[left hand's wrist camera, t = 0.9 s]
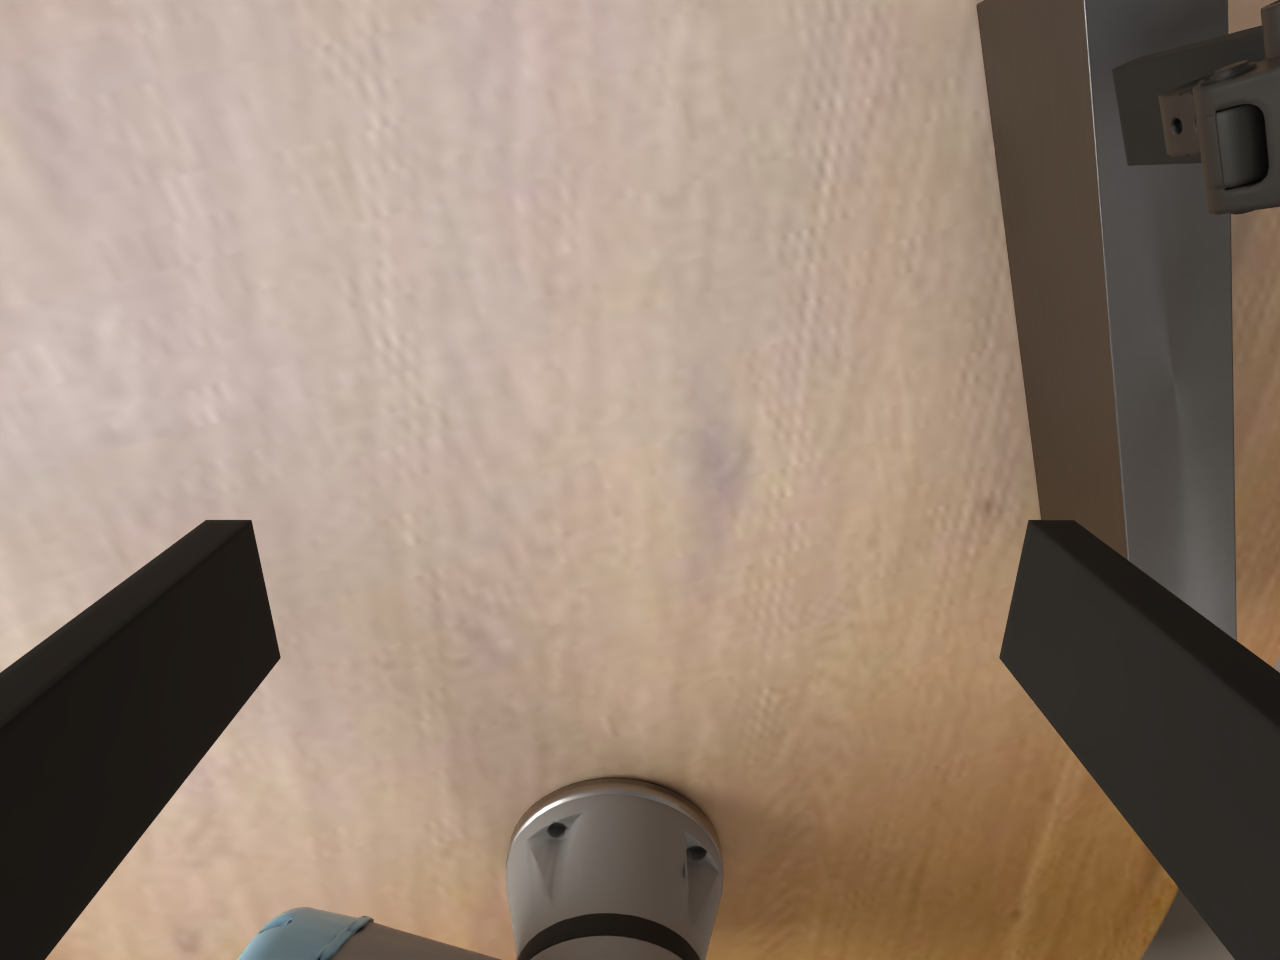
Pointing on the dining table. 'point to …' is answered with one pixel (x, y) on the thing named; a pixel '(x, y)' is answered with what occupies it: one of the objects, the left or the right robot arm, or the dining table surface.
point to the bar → (1117, 292)
